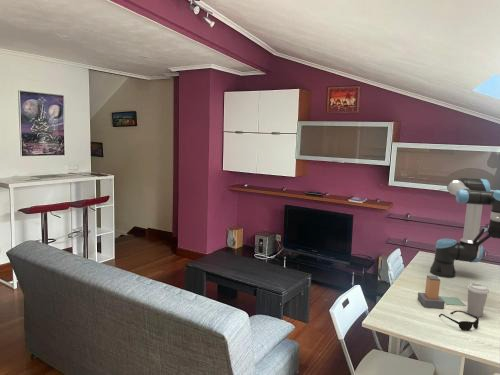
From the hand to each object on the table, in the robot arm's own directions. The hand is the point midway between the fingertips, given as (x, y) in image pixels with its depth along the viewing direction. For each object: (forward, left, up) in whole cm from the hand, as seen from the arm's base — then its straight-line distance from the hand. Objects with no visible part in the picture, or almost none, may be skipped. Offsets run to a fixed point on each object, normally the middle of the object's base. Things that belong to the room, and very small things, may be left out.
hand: (492, 259), depth 196 cm
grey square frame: (0, -29, -27) cm, 40 cm away
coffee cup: (+8, -10, -27) cm, 30 cm away
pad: (-6, -15, -27) cm, 31 cm away
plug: (0, -29, -27) cm, 40 cm away
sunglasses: (+19, -23, -27) cm, 41 cm away
